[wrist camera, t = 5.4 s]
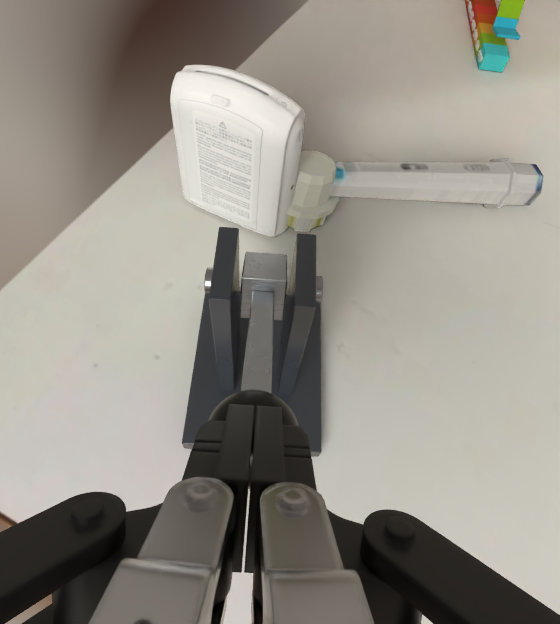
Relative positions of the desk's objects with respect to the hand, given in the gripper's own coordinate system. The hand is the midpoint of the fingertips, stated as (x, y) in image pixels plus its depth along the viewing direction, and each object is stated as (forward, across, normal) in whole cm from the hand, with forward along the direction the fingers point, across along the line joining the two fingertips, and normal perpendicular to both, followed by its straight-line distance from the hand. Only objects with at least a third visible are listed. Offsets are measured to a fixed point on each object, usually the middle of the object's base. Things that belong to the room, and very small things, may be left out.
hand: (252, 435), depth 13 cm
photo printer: (+30, +3, -5) cm, 31 cm away
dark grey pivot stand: (+19, 0, +6) cm, 20 cm away
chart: (+60, -27, -35) cm, 75 cm away
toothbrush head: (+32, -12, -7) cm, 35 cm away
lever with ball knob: (+7, 0, +1) cm, 7 cm away
